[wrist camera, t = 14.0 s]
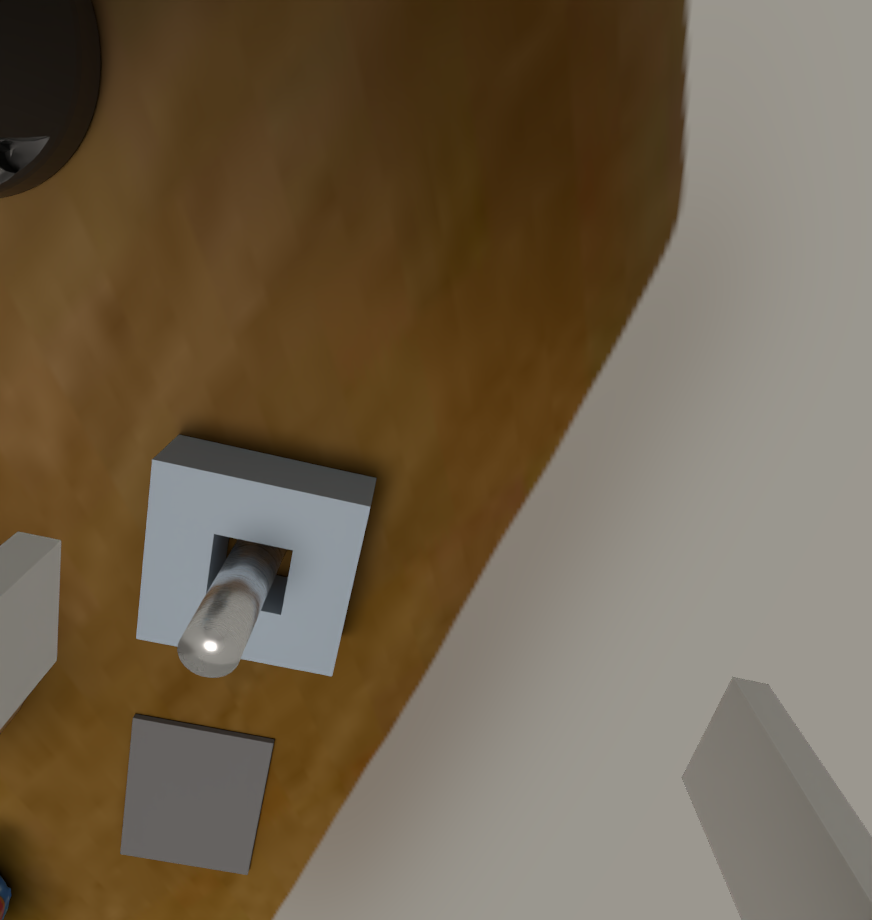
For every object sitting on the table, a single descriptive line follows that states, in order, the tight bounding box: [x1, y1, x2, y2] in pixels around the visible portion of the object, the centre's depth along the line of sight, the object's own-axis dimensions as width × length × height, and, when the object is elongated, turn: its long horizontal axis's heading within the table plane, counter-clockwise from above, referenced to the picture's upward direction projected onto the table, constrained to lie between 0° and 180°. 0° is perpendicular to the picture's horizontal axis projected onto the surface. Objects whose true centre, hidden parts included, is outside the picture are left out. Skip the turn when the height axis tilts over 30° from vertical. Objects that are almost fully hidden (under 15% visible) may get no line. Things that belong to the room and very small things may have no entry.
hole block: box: [136, 435, 377, 676], centre depth 40 cm, size 12×12×4 cm
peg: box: [177, 539, 287, 678], centre depth 37 cm, size 3×3×11 cm
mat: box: [120, 714, 275, 875], centre depth 50 cm, size 10×14×1 cm
